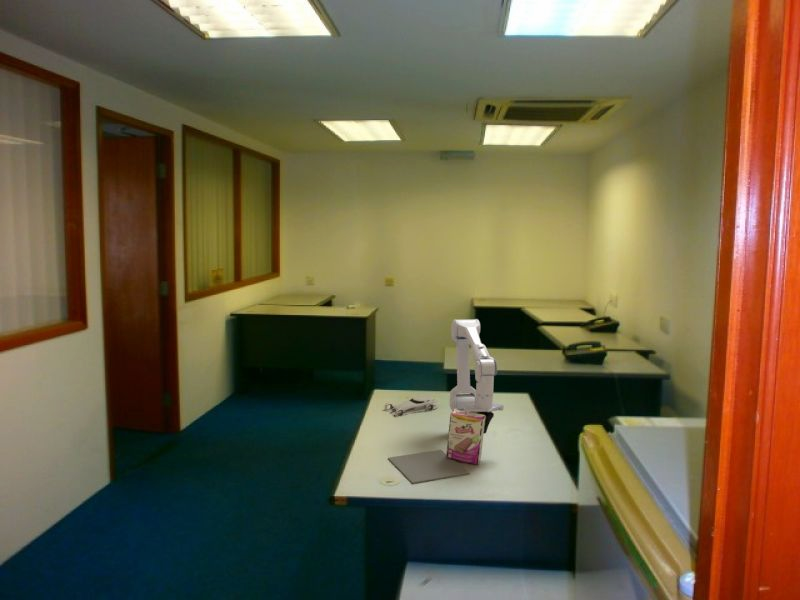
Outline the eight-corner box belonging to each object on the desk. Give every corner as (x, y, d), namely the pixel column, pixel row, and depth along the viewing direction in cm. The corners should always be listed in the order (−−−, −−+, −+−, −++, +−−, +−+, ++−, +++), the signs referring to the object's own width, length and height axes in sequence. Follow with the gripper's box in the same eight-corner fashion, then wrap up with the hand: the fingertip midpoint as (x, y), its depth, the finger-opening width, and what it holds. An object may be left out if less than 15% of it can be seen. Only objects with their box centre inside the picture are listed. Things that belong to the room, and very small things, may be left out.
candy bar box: (445, 458, 191) (449, 413, 187) (449, 452, 195) (453, 407, 192) (478, 466, 187) (483, 419, 184) (481, 459, 192) (485, 414, 188)
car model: (382, 411, 242) (382, 399, 241) (428, 402, 255) (428, 391, 254) (395, 418, 233) (396, 406, 232) (443, 409, 246) (443, 398, 245)
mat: (440, 451, 199) (440, 449, 199) (469, 474, 181) (469, 472, 181) (388, 459, 191) (388, 457, 191) (412, 484, 173) (412, 482, 173)
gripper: (471, 399, 185) (470, 439, 186) (509, 395, 190) (507, 433, 192) (461, 393, 191) (459, 432, 193) (497, 389, 197) (496, 427, 198)
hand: (482, 432), depth 193 cm, fingers closed
